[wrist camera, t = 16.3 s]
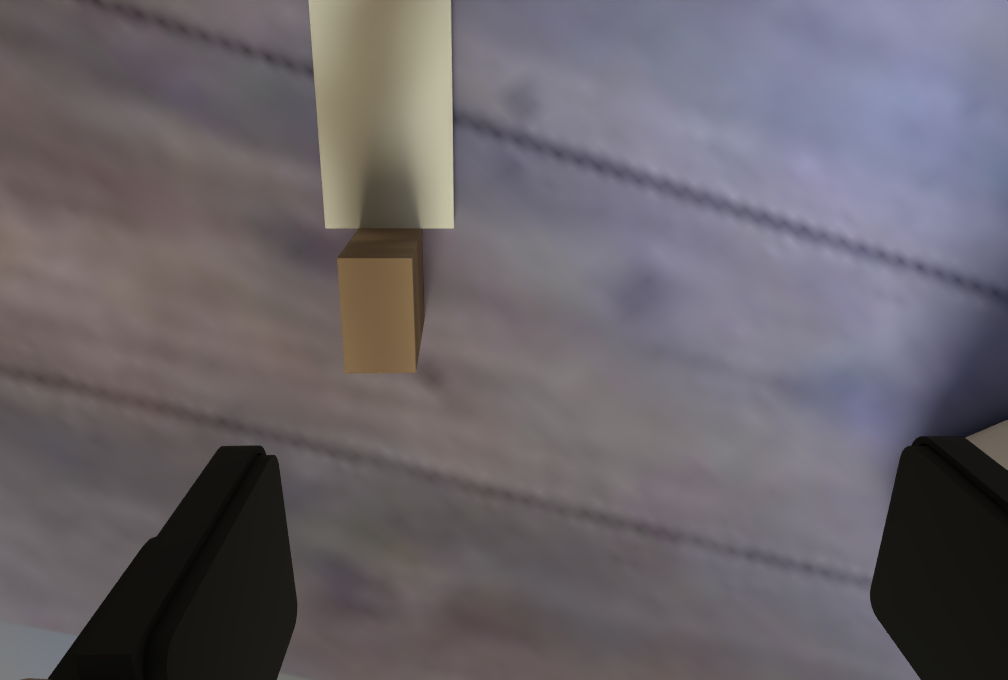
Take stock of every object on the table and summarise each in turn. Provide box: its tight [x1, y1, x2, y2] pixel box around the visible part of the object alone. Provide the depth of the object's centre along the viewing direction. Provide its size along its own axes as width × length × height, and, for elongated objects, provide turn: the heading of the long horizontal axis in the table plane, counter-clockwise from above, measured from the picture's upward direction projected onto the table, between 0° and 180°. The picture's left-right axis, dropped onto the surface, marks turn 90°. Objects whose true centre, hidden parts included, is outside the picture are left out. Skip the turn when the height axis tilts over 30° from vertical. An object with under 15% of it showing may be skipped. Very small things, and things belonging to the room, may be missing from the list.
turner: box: [309, 0, 454, 373], centre depth 24 cm, size 5×16×6 cm, turn 179°
